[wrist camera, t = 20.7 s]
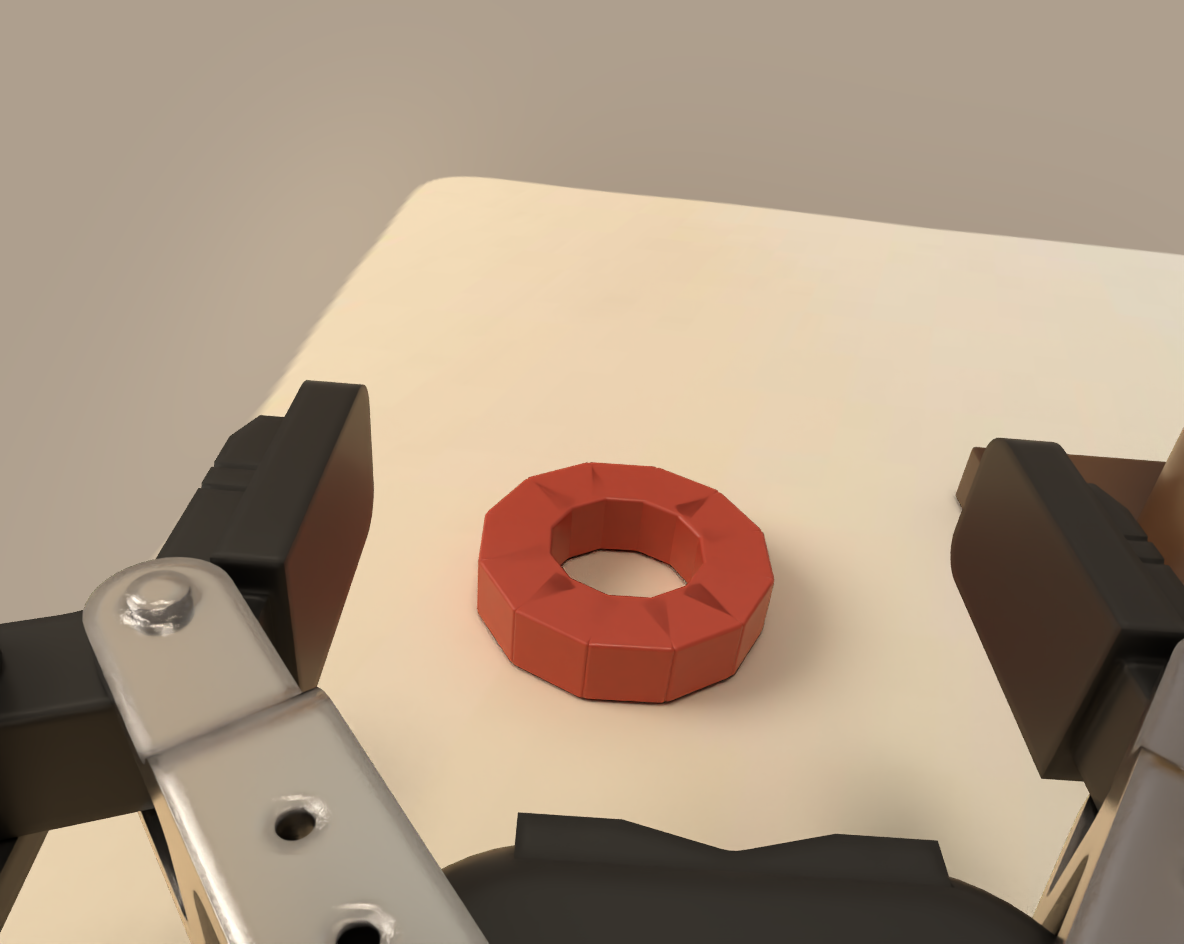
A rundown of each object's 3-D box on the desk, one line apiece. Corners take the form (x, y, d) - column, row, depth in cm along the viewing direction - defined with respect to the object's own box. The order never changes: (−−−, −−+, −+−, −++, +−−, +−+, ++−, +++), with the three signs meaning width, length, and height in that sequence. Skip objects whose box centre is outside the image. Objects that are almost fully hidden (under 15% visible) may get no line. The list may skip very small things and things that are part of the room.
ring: (739, 520, 23) (750, 472, 22) (779, 711, 18) (794, 657, 17) (492, 504, 23) (494, 454, 22) (465, 693, 18) (466, 638, 17)
